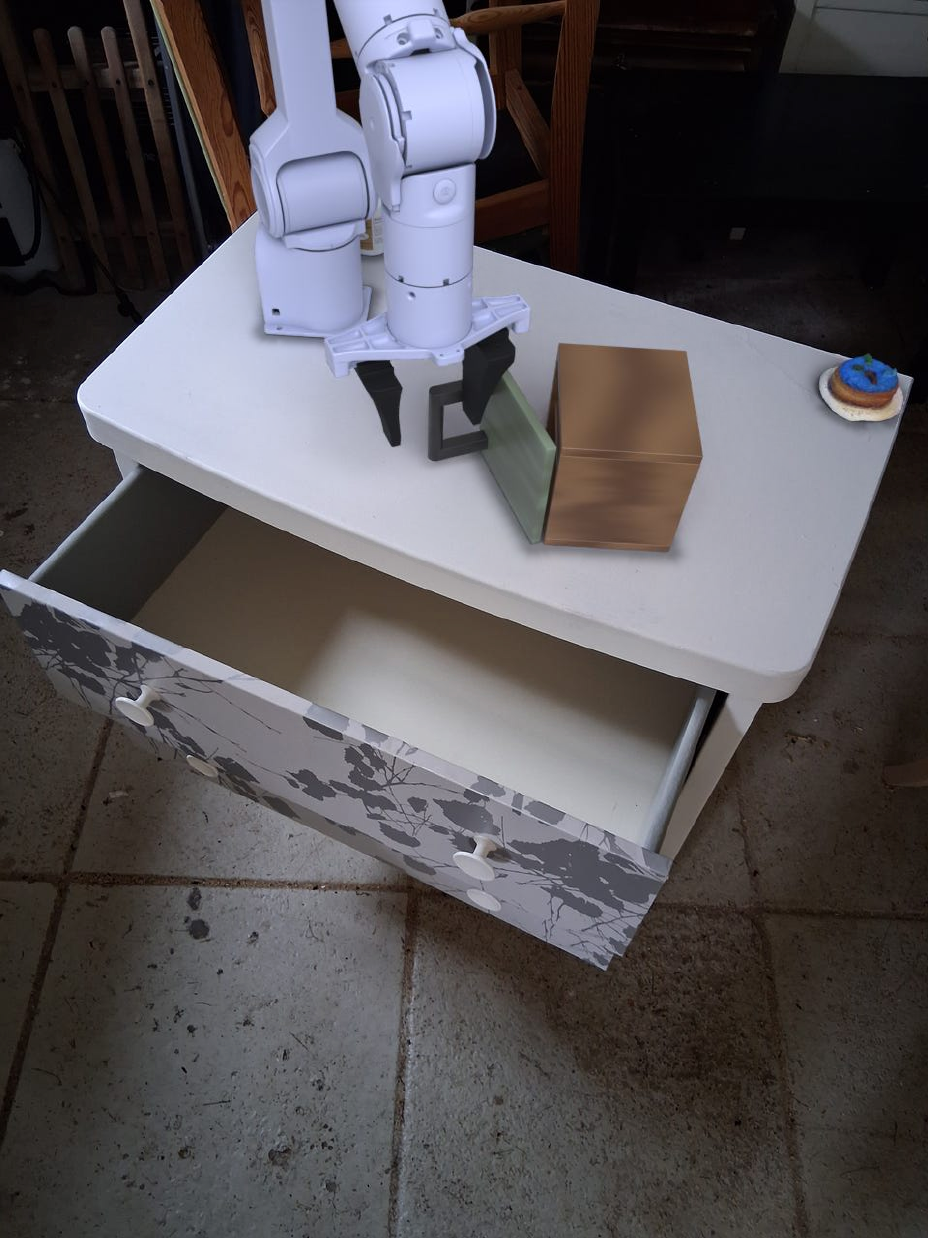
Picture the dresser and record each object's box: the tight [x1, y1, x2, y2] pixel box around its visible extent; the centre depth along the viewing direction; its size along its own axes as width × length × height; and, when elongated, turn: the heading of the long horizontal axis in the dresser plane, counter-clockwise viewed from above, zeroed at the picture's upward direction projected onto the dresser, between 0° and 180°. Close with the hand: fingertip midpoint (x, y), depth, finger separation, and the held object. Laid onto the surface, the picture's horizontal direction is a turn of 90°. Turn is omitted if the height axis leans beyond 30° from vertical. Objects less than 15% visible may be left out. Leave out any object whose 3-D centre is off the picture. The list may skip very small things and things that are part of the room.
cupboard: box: [543, 342, 704, 553], centre depth 70 cm, size 10×12×11 cm
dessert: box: [818, 353, 904, 422], centre depth 82 cm, size 8×7×6 cm
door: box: [427, 368, 556, 545], centre depth 69 cm, size 6×12×10 cm, turn 21°
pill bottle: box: [360, 196, 384, 257], centre depth 91 cm, size 4×4×8 cm
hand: (431, 427), depth 68 cm, fingers open, 6 cm apart
